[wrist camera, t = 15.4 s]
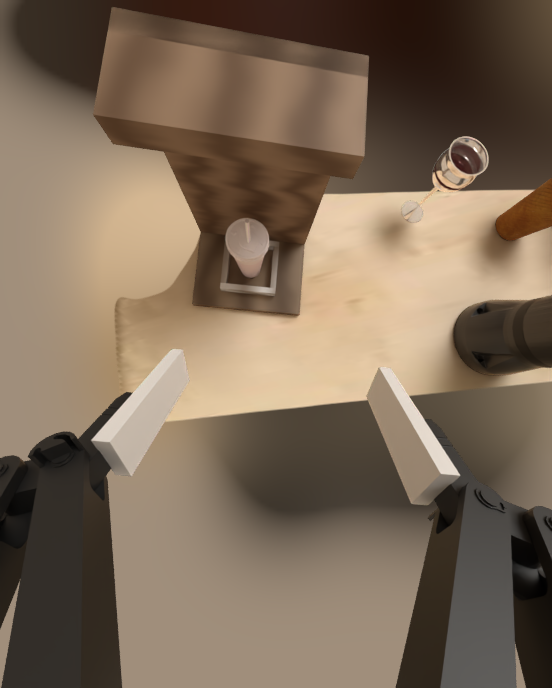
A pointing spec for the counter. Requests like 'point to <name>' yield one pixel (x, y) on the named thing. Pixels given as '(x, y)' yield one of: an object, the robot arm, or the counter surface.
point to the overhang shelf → (237, 137)
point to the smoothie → (247, 245)
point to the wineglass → (452, 172)
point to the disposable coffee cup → (527, 214)
